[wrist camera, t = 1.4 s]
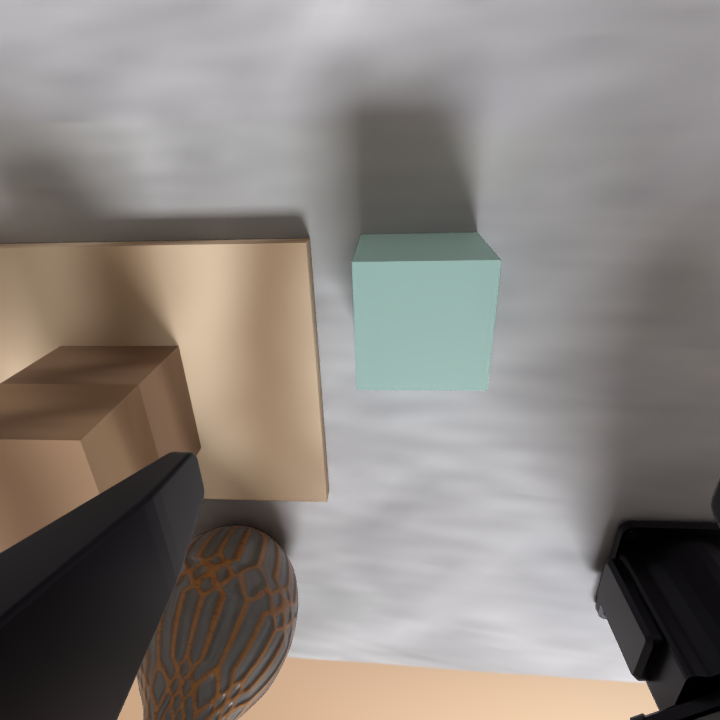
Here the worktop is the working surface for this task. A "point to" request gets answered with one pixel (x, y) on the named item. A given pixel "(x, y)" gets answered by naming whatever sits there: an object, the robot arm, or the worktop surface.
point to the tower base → (128, 366)
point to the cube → (424, 311)
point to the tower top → (65, 449)
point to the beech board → (192, 342)
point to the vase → (221, 628)
